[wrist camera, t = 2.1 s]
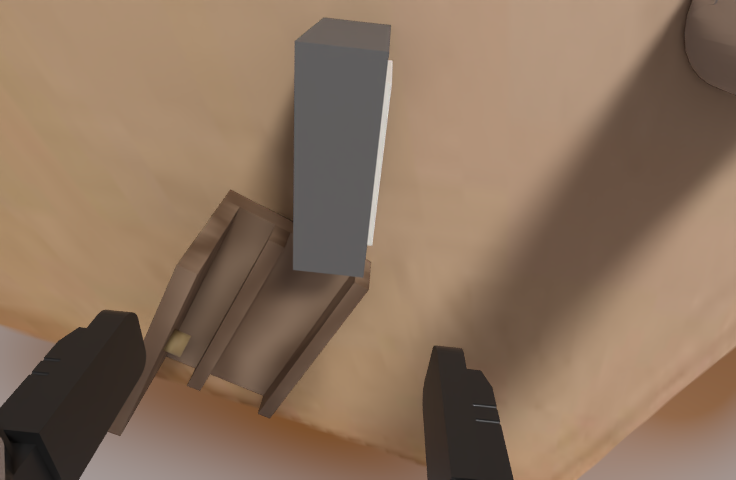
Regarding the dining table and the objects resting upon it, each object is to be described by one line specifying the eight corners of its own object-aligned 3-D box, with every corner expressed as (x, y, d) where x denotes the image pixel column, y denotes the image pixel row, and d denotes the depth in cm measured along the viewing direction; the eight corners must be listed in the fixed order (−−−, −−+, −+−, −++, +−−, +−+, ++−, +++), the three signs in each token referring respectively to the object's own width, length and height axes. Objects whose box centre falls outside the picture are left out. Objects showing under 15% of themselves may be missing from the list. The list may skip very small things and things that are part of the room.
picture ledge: (371, 261, 36) (363, 350, 27) (278, 387, 44) (252, 482, 36) (230, 189, 33) (176, 264, 25) (160, 338, 41) (104, 430, 33)
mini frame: (395, 25, 26) (396, 52, 19) (374, 204, 33) (368, 278, 25) (323, 17, 26) (294, 41, 19) (316, 197, 33) (292, 270, 25)
